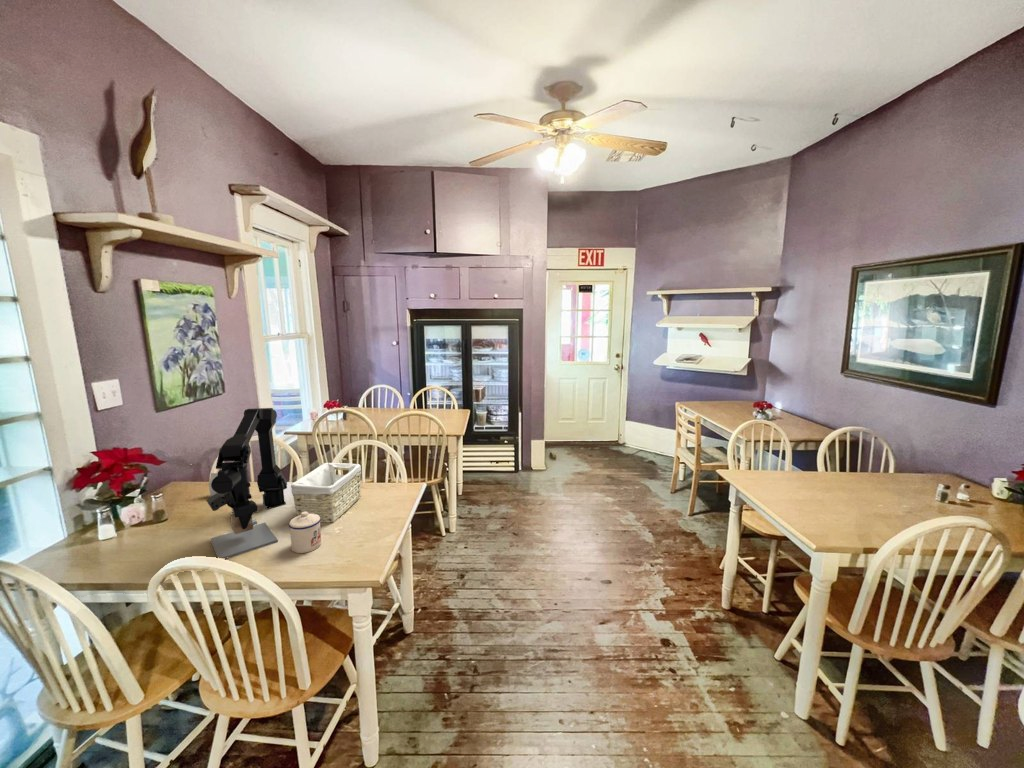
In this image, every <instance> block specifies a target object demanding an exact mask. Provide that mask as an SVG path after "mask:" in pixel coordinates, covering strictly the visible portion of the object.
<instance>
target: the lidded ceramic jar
mask: <svg viewBox="0 0 1024 768" xmlns="http://www.w3.org/2000/svg"><path fill="white" fill-rule="evenodd" d="M320 520H321V518H320V516H319V515H317V514H309V513H308V512H306V511H305V512H302V513H301V515H300V516H295V517H293V518H292V519H291V520H290V521H289V524H288V526H289V530H290V543H291V544H290V545H291V551H292V552H294V553H296V554H305V553H310V552H312V551H315V550H317V549H318V548H320V546H321V544H322V533H321V532H322V531H321V522H320Z"/></svg>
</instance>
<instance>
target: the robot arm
mask: <svg viewBox="0 0 1024 768" xmlns="http://www.w3.org/2000/svg"><path fill="white" fill-rule="evenodd" d="M277 416H278V414H277V411H276V410H275V409H274V408H273V407H261V408H260V407H258V408H257V407H256V408H247V409H244V412H243V416H242V419H241V420H240V423H239V425H238V427H237V428H236V430H235V432H234V434H233V436H231V437H229V438H228V439H226V440H225V442H223V444H222V445H221V447H220V449H219V450H218V451H219V452H218V456H217V460H216V465H215V469H216V470H218V471H217V473H218V476H216V477H215V478H214V479H213V480H212V483H211V487H212V489H213V490H214V491H215V492H217V493H216V494H215V495H213V496H211V497H210V496H209V497H207V498H206V503H207V504H208V506H209V507H210V509H211V510H212V511H213V512H216V511H217V510H219V509H220V508H222V507H224V506H225V505H226V506H228V507H229V508H230V509H231V510H232V512H231V514H233V515H234V517H238V518H239V521H240V524H241V527H242V529H246V528H247V526H248V523H249V521H250V519H251V516H252V517H253V514H255V513H257V512H258V511H259V507H258V504H257V503H256V501H254V500H252V497H253V496H252V495H251V493H250V492H251V491H250V490H251V489H250V487H251V482H250V481H249V471H248V470H249V469H248V464H249V460H250V456H251V454H252V447H251V446H250V441H251V439H252V437H253V434H254V433H255V432H256V433H257V438H258V440H257V441H258V446H259V455H260V461H261V462H260V463H261V470H260V471H259V473H258V474H257V479H256V481H257V482H256V485H257V488H258V491H259V493H263V494H262V504H263V506H265V507H266V509H271V508H272V509H273V508H275V507H280V506H283V505H286V503H287V502H286V500H285V495H284V494H285V493H284V492H285V491H284V490H286V489H288V480H287V479H286V478H285V476H284V475H283V472H282V469H281V468H280V467H279V466H278V465H277V462H276V454H275V446H274V445H275V444H274V436H273V428H274V426H275V425H276V423H277V418H278V417H277ZM219 469H220V470H219ZM250 499H251V500H250Z"/></svg>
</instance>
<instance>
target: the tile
mask: <svg viewBox="0 0 1024 768" xmlns="http://www.w3.org/2000/svg"><path fill="white" fill-rule="evenodd" d="M278 541H279V539H278V538H277V537H276V535H275V534H274V532H273V531H272V530H271V529H270V527H269V526H268V525H267V523H266V522H261V523H257V524H255V525H253V529H252V530H248V531H245V532H242V533H238V534H235V533H234V531H230V532H227V533H224V534H220V535H217V536H214V537H210V543H211V546H212V548H213V550H214V552H215V554H216V557H217V558H218V557H219V558H225V559H224V560H228V558H227V557H230V558H233V557H236V556H240V555H243V554H245V553H249V552H251V551H254V550H258V549H260V548H263V547H267V546H270V545H272V544H277V543H278Z"/></svg>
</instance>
